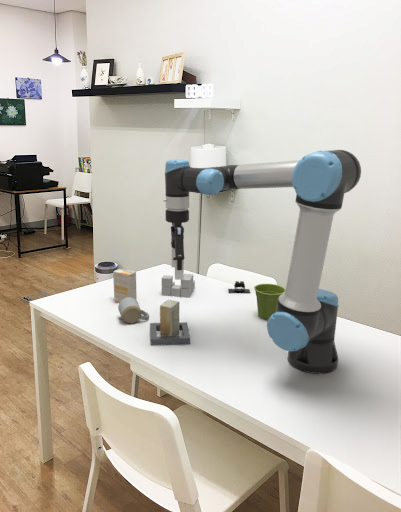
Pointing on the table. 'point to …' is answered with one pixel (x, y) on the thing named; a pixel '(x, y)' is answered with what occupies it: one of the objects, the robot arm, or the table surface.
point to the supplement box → (124, 284)
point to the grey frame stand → (169, 339)
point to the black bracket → (239, 289)
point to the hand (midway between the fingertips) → (177, 273)
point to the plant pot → (267, 299)
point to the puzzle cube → (176, 290)
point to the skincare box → (169, 318)
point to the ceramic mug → (131, 310)
